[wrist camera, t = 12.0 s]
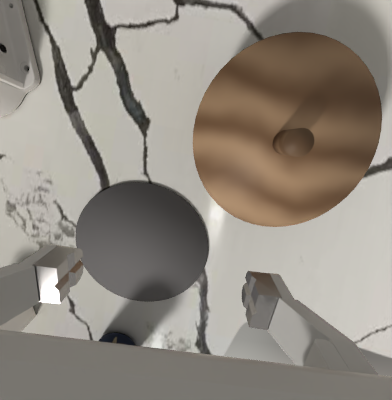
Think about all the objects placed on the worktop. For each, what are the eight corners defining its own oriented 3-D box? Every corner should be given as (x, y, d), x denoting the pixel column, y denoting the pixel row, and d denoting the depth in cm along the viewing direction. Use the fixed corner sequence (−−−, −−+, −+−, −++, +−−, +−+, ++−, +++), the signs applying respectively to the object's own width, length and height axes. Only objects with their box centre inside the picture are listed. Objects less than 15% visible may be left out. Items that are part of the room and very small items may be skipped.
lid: (206, 22, 24) (207, -10, 19) (408, 50, 24) (463, 25, 19) (184, 213, 31) (180, 227, 26) (339, 234, 31) (366, 251, 26)
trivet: (74, 172, 36) (73, 172, 36) (218, 194, 36) (219, 194, 36) (78, 290, 44) (77, 292, 43) (197, 307, 44) (197, 309, 44)
